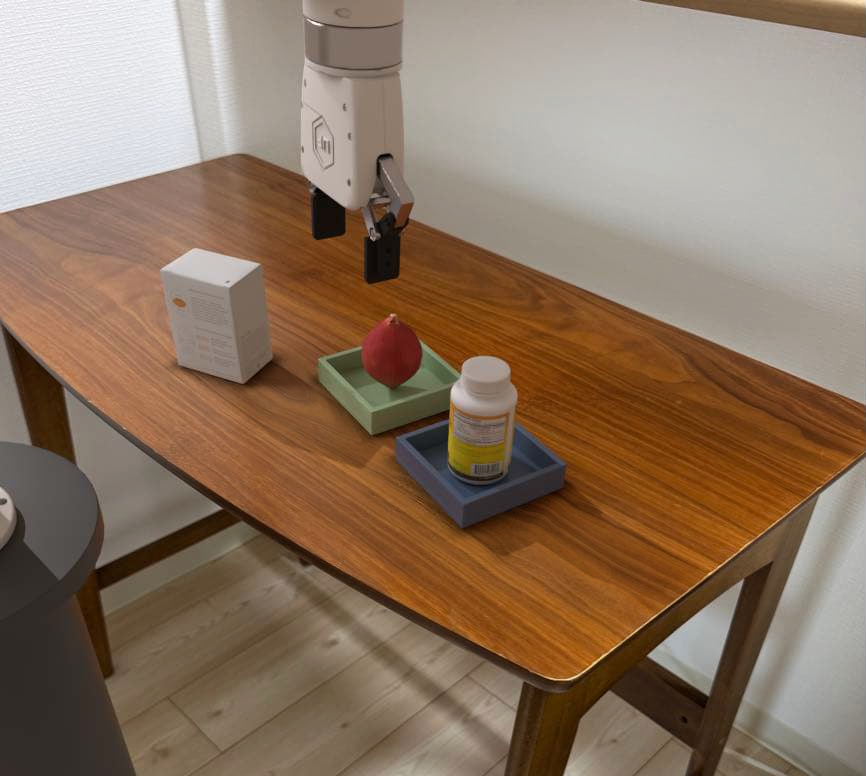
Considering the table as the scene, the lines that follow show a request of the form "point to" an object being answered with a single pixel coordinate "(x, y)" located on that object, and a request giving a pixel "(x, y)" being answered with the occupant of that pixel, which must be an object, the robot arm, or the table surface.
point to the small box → (218, 314)
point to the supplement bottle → (482, 421)
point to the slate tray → (471, 503)
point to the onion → (391, 352)
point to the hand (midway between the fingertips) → (354, 257)
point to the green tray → (387, 390)
